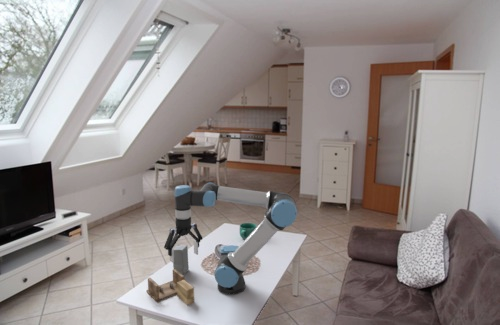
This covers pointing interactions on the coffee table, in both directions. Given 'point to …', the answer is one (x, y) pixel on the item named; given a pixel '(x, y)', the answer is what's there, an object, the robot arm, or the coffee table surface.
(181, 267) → the skincare box
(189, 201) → the robot arm
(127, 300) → the coffee table surface
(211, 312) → the coffee table surface
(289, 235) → the coffee table surface
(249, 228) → the mug
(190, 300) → the light wooden block
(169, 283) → the peg frame
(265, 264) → the coffee table surface
